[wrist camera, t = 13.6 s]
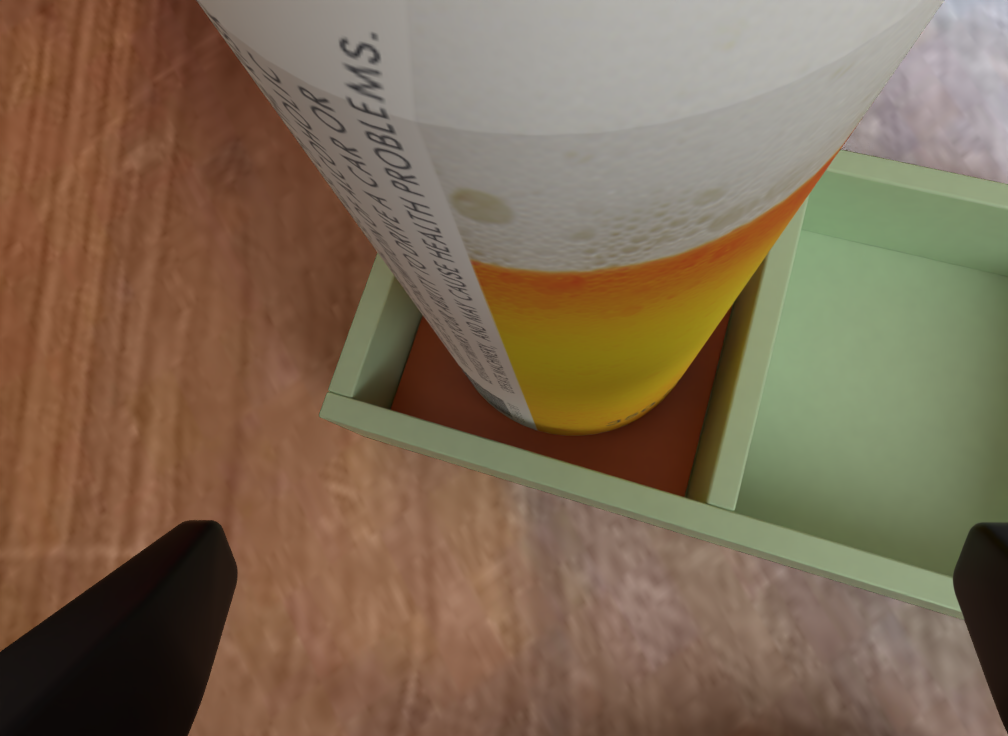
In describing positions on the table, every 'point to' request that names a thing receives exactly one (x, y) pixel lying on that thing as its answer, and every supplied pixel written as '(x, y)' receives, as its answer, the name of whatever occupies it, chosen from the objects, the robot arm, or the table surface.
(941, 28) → the table surface
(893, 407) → the tray
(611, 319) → the beer can
